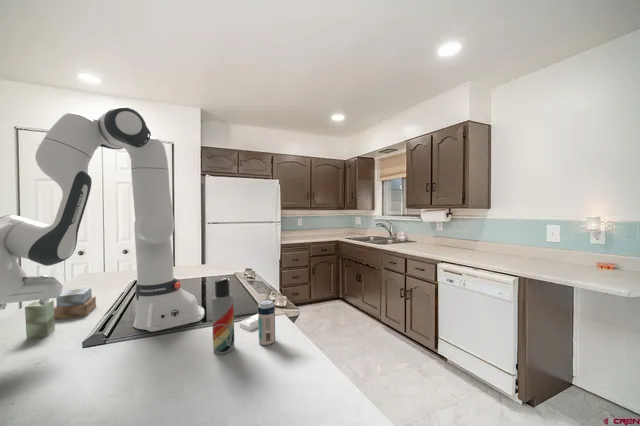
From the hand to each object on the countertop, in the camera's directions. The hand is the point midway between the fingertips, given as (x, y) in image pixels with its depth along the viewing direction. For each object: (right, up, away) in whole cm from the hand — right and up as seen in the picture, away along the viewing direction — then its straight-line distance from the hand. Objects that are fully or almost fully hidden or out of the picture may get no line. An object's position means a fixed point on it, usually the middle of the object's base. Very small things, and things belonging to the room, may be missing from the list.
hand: (24, 304), depth 83 cm
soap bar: (+64, -11, +14) cm, 67 cm away
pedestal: (-7, -11, +26) cm, 29 cm away
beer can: (+70, -11, +1) cm, 71 cm away
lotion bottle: (+59, -12, -3) cm, 60 cm away
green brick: (-3, -12, +8) cm, 15 cm away
